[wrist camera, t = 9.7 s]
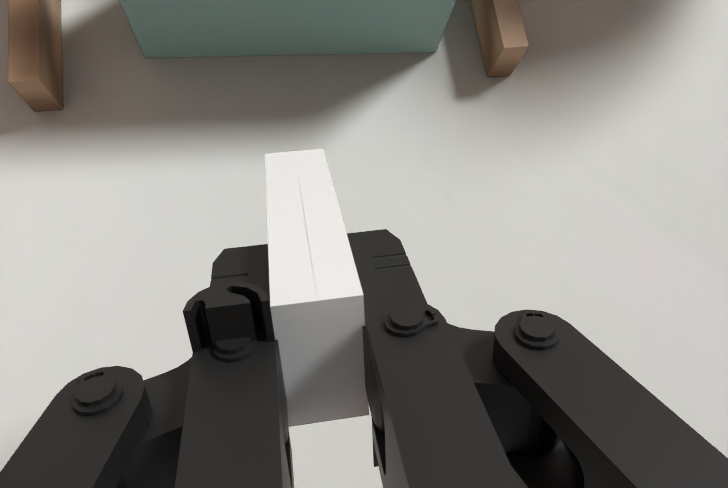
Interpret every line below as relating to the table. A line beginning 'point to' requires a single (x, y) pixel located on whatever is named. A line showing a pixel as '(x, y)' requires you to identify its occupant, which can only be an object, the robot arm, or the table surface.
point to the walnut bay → (44, 46)
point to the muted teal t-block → (286, 26)
